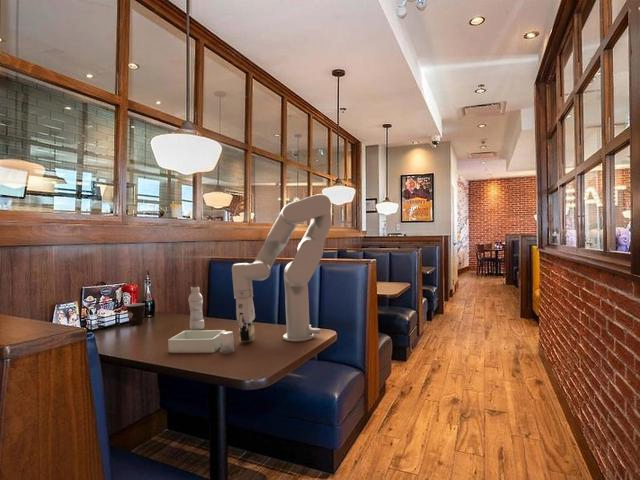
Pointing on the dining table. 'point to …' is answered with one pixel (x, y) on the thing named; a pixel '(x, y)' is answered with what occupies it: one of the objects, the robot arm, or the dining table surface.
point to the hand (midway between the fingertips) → (247, 338)
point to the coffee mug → (136, 313)
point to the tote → (195, 341)
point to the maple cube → (251, 333)
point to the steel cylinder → (226, 342)
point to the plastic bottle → (196, 309)
